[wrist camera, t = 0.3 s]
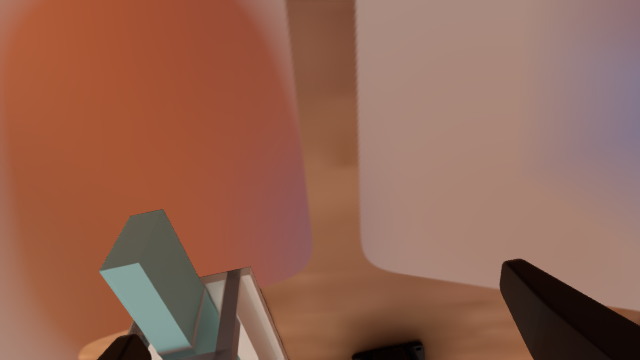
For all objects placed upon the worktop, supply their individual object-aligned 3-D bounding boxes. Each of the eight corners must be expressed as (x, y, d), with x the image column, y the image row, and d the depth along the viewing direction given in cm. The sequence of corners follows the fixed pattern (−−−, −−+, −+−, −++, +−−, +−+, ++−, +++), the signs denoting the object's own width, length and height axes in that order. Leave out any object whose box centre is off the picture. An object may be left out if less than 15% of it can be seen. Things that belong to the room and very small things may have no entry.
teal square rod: (243, 361, 30) (238, 420, 26) (218, 367, 30) (210, 426, 26) (163, 208, 22) (139, 262, 18) (129, 216, 22) (98, 271, 18)
